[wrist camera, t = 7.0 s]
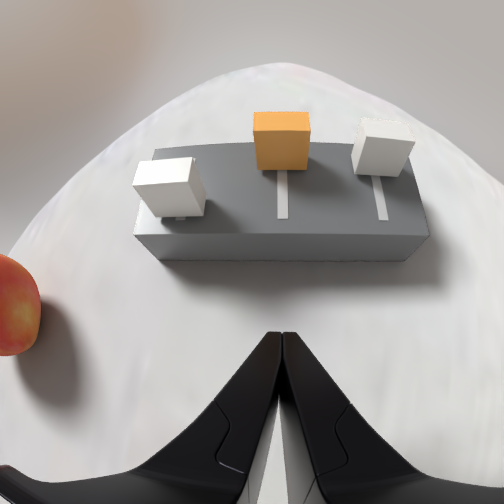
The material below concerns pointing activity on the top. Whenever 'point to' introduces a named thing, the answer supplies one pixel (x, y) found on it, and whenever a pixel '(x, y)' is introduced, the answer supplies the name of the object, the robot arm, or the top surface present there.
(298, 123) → the tab
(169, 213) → the tab
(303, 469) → the robot arm
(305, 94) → the top surface
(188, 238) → the grey cube slider board
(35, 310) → the apple
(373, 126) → the tab
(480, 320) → the top surface
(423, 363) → the top surface
